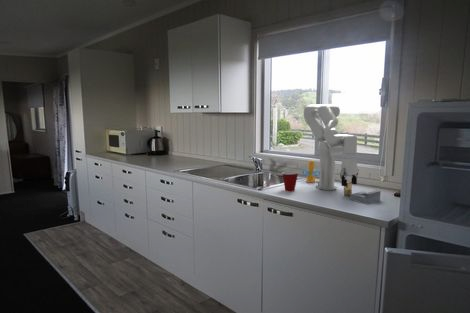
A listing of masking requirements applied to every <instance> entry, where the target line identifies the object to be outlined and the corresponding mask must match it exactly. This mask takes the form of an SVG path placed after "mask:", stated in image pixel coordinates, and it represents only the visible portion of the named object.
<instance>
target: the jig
mask: <svg viewBox="0 0 470 313" xmlns="http://www.w3.org/2000/svg"><path fill="white" fill-rule="evenodd" d="M350 200H351V201H356V202H359V203H364V204H372V203H376V202H379V201H381V190H378V189H377V190H373V191H369V192H366V191H363V190H362V191H360V192H359V191H358V192H354V193H352V194H351V196H350Z"/></svg>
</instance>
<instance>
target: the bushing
mask: <svg viewBox="0 0 470 313" xmlns="http://www.w3.org/2000/svg"><path fill="white" fill-rule="evenodd" d="M351 182H352V181H347V186H343V197H345V198H346V197H347V198H349V197H350V196H351V194H353V189H352V188H353V184H352V183H351Z"/></svg>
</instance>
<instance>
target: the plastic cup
mask: <svg viewBox="0 0 470 313" xmlns="http://www.w3.org/2000/svg"><path fill="white" fill-rule="evenodd" d="M281 175H282V179H283V185H284V190H285V192H295V190H296V185H297V179H298V175H299V171H283V172H281Z"/></svg>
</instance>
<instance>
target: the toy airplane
mask: <svg viewBox="0 0 470 313" xmlns="http://www.w3.org/2000/svg"><path fill="white" fill-rule="evenodd" d="M302 174H303V175H304V176H306V183H315V181H316V177H318V176H319V175H320V170H319V169H316V168H315V160H308V168H307V169H303V170H302Z"/></svg>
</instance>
